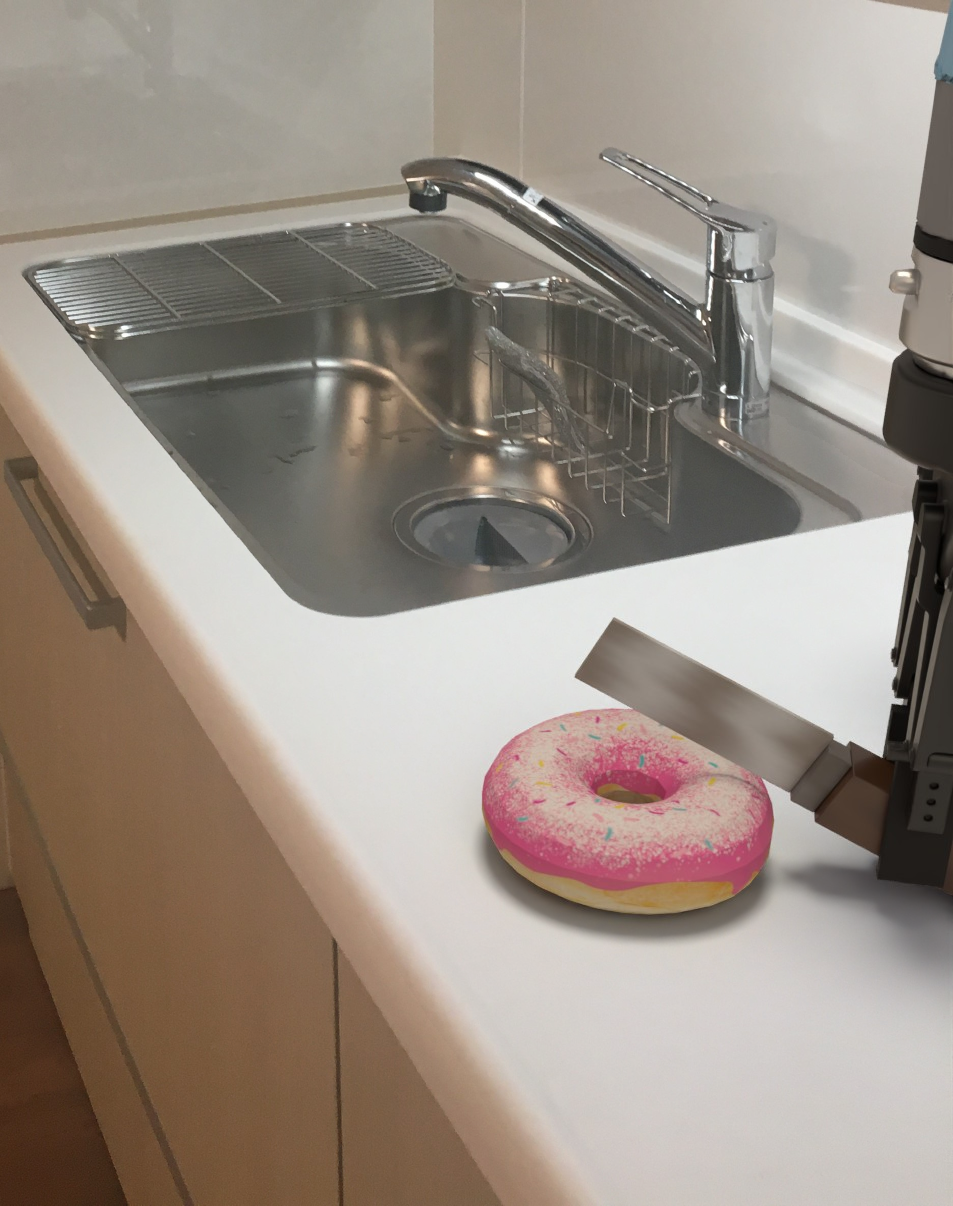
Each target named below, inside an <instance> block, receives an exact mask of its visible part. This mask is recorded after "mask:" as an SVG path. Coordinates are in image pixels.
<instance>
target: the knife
mask: <svg viewBox="0 0 953 1206" xmlns="http://www.w3.org/2000/svg"><path fill="white" fill-rule="evenodd" d="M574 679H576V680H578V681H580V682H582V683H584V684H586V685H587V686H589V687H591V688H592V689H595V690H597V691H598V692H601V693H603V694H604V695H606V696H608V697H609V698H611V699H614V700H615V701H617V702H619V703H621V704H623V705H625V706H626V707H628V708H629V709H634V710H636V711H638V712H640V713H641V714H643V715H645V716H647V717H649V718H651V719H653V720H654V721H656V722H658V723H660V724H662V725H664V726H666V727H667V728H669V729H671V730H673V731H675V732H677V733H679V734H681V735H682V736H684V737H686V738H688V739H690V740H692V741H694V742H695V743H697V744H699V745H701V746H703V747H705V748H707V749H708V750H710V751H712V752H714V753H716V754H718V755H720V756H721V757H723V758H725V759H727V760H729V761H731V762H733V763H734V764H736V765H738V766H740V767H742V768H744V769H746V770H748V771H749V772H751V773H753V774H755V775H757V776H759V777H761V778H762V780H763V781H766V782H768V783H770V784H772V785H774V786H775V787H777V788H779V789H781V790H783V791H785V792H786V793H789V798H790V801H791V802H792V803H794V804H796V805H798V806H800V807H802V808H803V809H805V810H806V811H807V810H808V811H809V812H811V813H813V817H814V819H813V820H814V822H815V823H816V824H818V825H819V826H821V827H823V828H825V829H826V830H828V831H830V832H832V833H834V834H836V835H837V836H840V837H841V838H843V839H845V840H847V841H849V842H850V843H853V844H855V845H857V846H858V847H860V848H862V849H864V850H866V851H868V852H870V853H872V854H874V855H875V856H877V857H879V852H880V846H881V840H882V835H883V829H884V823H885V818H886V812H887V806H888V801H889V795H890V789H891V783H892V777H893V772H894V766H895V764H893V763H891V762H889V761H887V760H885V759H883V758H882V756H880V755H878V754H876V753H874V752H872V751H870V750H869V749H866V748H865V747H863V746H861V745H859V744H857V743H855V742H853V741H852V740H849V741H848V742H847V744H846V745H845V744H843V743H841V742H839V741H838V740H835V739H834V738H835V734H834V733H832V732H830V731H828V730H827V729H824V728H822V727H821V726H819V725H817V724H815V723H813V722H811V721H810V720H807V719H806V718H804V717H803V716H800V715H798V714H796V713H794V712H792V711H791V710H790V709H787V708H785V707H783V706H781V705H779V704H778V703H776V702H774V701H772V700H770V699H768V698H767V697H765V696H763V695H760V694H759V693H757V692H755V691H753V690H751V689H749V688H748V687H746V686H744V685H743V684H740V683H739V682H736V681H735V680H733V679H731V678H729V677H727V676H725V675H723V674H722V673H719V672H718V671H716V670H714V669H712V668H710V667H709V666H706V665H705V664H703V663H700V662H699V661H698V660H695V659H693V658H691V657H690V656H688V655H686V654H684V653H682V652H681V651H678V650H677V649H675V648H673V647H671V646H669V645H667V644H665V643H663V642H662V641H660V640H658V639H656V638H654V637H652V636H651V635H648V634H646V633H645V632H643V631H641V630H639V629H637V628H636V627H633V626H632V625H630V624H628V623H626V622H624V621H622V620H620V619H618V618H616V617H612V619H611V620H610V622H609V623H608V625H607V626H606V628H605V629H604V631H603V632H602V634H601V635H600V636H599V638H598V639H597V641H596V642H595V644H594V645H593V647H592V648H591V650H590V651H589V653H588V654H587V656H586V657H585V659H584V660H583V662H582V663H581V664H580V666H579V667H578V669H577V671H576V672H575V673H574ZM936 889H938V890H939V891H942V892H943V893H946V894H947V895H949V896H952V897H953V842H952V847H951V852H950V857H949V862H948V867H947V872H946V877H945V882H944V887H943V888H938V887H936Z"/></svg>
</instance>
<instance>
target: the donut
mask: <svg viewBox="0 0 953 1206" xmlns="http://www.w3.org/2000/svg"><path fill="white" fill-rule="evenodd" d="M773 808H774V807H773V802H772V799H771V797H770V794H769V791H768V789H767V787H766V784H765V782H764V779H762V778H761V777H759V776H757V775H755V774H753V773H751V772H749V771H748V770H746V769H744V768H742V767H740V766H738V765H736V764H734V763H733V762H731V761H729V760H727V759H725V758H723V757H721V756H720V755H718V754H716V753H714V752H712V751H710V750H708V749H707V748H705V747H703V746H701V745H699V744H697V743H695V742H694V741H692V740H690V739H688V738H686V737H684V736H682V735H681V734H679V733H677V732H675V731H673V730H671V729H669V728H667V727H666V726H664V725H662V724H660V723H658V722H656V721H654V720H653V719H651V718H649V717H647V716H645V715H643V714H641V713H640V712H638V711H636V710H634V709H632V708H599V709H586V710H582V711H581V710H580V711H576V712H575V711H574V712H570V713H564V714H562V715H559V716H555V717H553V718H550V719H546V720H544V721H542V722H540V723H538V724H536V725H534V726H531V727H530V728H528V729H525V730H524V731H523V732H520V733H519V734H517V735H515V736H514V737H513V738H511V740H509V741H508V742H507V743H506V744H505V745H504V746H503V747H501V749H500V750H499V752H498V753H497V755H496V756H495V758H494V760H493V762H492V763H491V765H490V767H489V768H488V770H487V772H486V774H485V775H484V779H483V784H482V790H481V813H482V817H483V821H484V825H485V829H486V830H487V832H488V834H489V836H490V838H491V839H492V841H493V844H494V845H495V847H496V848H497V850H498V852H499V854H500V855H501V857H502V859H503V860H505V862H507V864H509V866H510V867H512V869H514V871H515V872H516V873H518V874H519V875H521V876H522V877H524V878H525V879H526V880H528V881H530V882H531V883H532V884H534V885H536V886H537V887H538V888H540V889H541V888H542V889H543V890H545V891H547V892H550V893H552V894H555V895H556V896H559V897H560V898H563V899H565V900H568V901H570V902H572V903H577V904H579V905H584V906H585V907H590V908H593V909H597V910H603V911H609V912H614V913H615V912H616V913H620V914H634V915H667V914H678V913H682V912H688V911H692V910H697V909H702V908H707V907H712V906H714V905H717V904H719V903H722V902H724V901H726V900H729V899H732V898H734V897H735V896H736V895H738V894H739V893H741V892H742V891H743V890H744V889H745V888H747V887H748V886H749V885H750V884H751V883H752V882H753V880H754V879H755V878H756V877H757V876H758V874H759V873H760V872H761V870H762V868H763V866H764V865H765V863H766V861H767V860H768V858H769V856H770V850H771V844H772V838H773V833H774V832H773V831H774V825H775V816H774V809H773Z"/></svg>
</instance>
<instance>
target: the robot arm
mask: <svg viewBox="0 0 953 1206" xmlns="http://www.w3.org/2000/svg"><path fill="white" fill-rule="evenodd" d="M948 7H949V8H948V11H947V18H946V21H945V26H944V29H943V34H942V39H941V44H940V48H939V52H938V54H937V56H936V59H935V62H934V66H933V74H934V80H935V87H934V93H933V94H934V95H933V101H932V109H931V116H930V123H929V129H928V137H927V143H926V150H925V155H924V156H925V157H924V163H923V171H922V178H921V183H920V191H919V196H918V197H919V198H918V204H917V210H916V211H917V212H916V219H915V220H916V222H915V226H914V232H913V238H912V242H913V244H912V245H913V246H912V250H911V255H910V259H911V261H912V262H913V265H914V267H913V268H904V269H903V268H902V269H895V270H893V272H891V274H890V275H889V283H888V289H889V291H891V292H892V293H893V294H897V295H905V296H904V299H903V303H902V310H901V316H900V324H899V328H898V339H899V341H900V342H901V343H902V345H903V346H904V347H905V349H904V350H903V351H902V352H901V353H900V354H899V355H897V356H896V357H895V358H894V359H893V362H892V364H891V369H890V370H891V371H890V377H889V383H888V389H887V396H886V403H885V408H884V415H883V421H882V429H881V432H882V437H883V440H884V442H885V444H886V445H887V447H888V448H889V449H890V450H891V451H892V452H893V453H895V454H896V455H897V456H898V457H900V458H902V459H903V460H905V461H907V462H909V463H911V464H913V465H915V466H917V467H916V476H918V479H916V480H915V483H914V487H913V492H912V497H911V508H912V516H913V523H912V529H911V536H910V541H909V546H908V551H907V554H908V555H907V561H906V568H905V575H904V581H903V586H902V587H903V588H902V594H901V601H900V607H899V614H898V619H897V626H896V633H895V639H894V645H893V648H891V650H890V660H891V663H892V666H893V668H896V673H895V676H894V677H893V679H892V681H891V691H893V696H894V699H897V700H898V699H900V700H902V704H899V703H891V705H890V710H889V716H888V722H887V728H886V733H885V740H884V744H883V745H884V746H883V752H882V756H881V757H882V758H883V759H885V760H887V761H889V762H891V763H893V764H895V766H894V772H893V777H892V783H891V789H890V795H889V801H888V806H887V812H886V818H885V823H884V829H883V835H882V840H881V846H880V852H879V856H877V863H876V869H875V873H876V880H878V881H885V882H891V883H892V882H894V883H901V884H909V885H917V886H923V887H930V888H937V887H938V888H943V887H944V882H945V877H946V872H947V867H948V862H949V857H950V852H951V847H952V842H953V0H950V2H949V6H948ZM938 888H937V889H938Z"/></svg>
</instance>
